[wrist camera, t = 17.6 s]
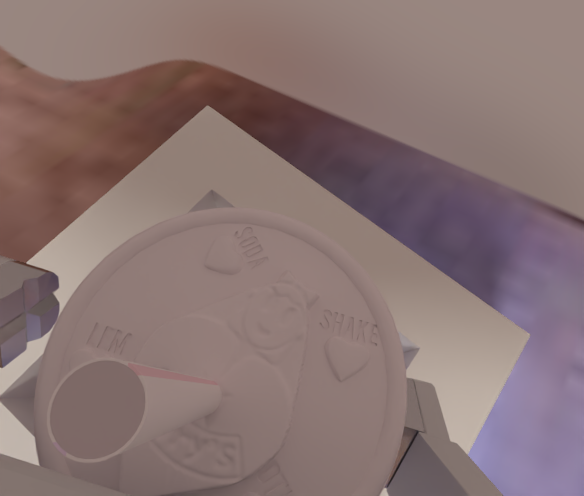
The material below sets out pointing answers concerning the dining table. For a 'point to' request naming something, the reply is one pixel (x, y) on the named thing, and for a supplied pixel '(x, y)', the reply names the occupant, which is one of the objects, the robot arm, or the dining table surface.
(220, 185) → the beige square frame
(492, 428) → the dining table surface
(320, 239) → the smoothie
